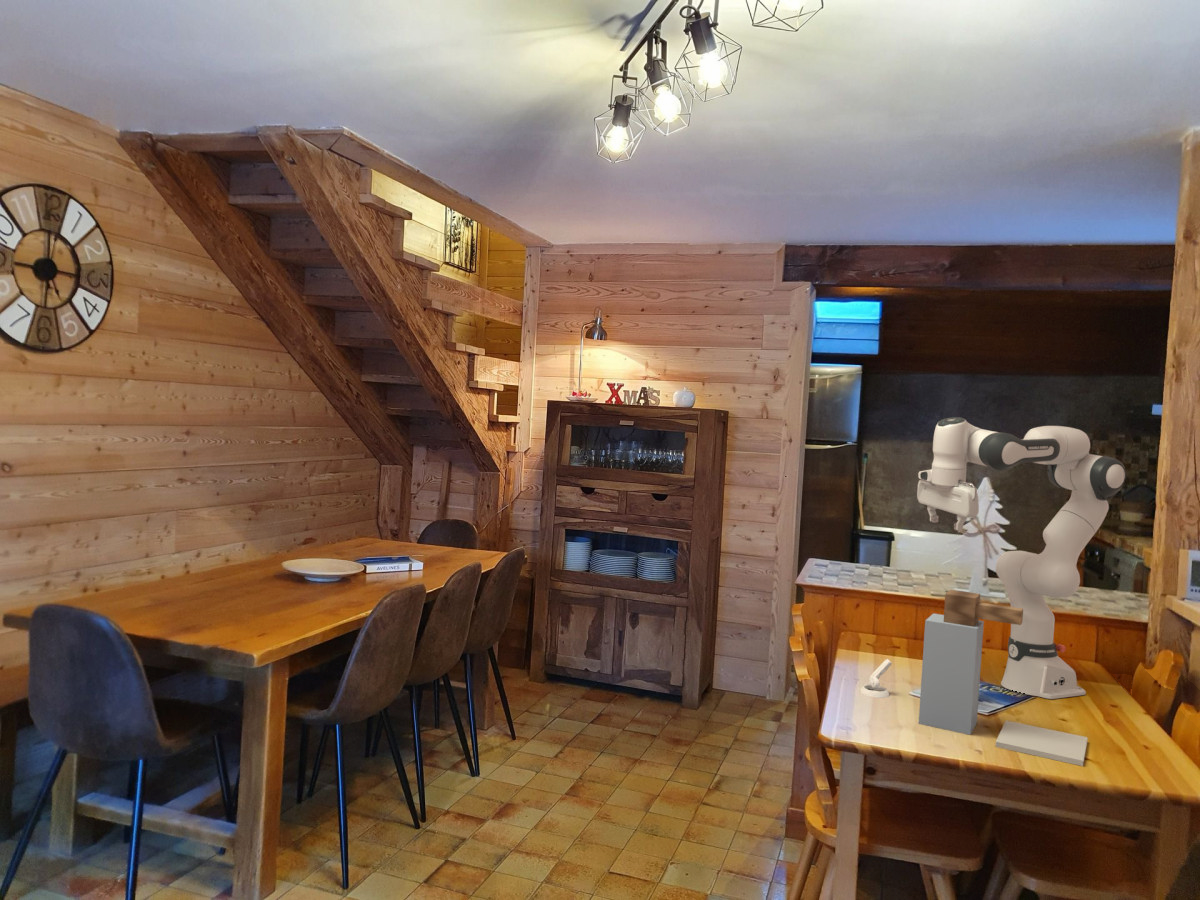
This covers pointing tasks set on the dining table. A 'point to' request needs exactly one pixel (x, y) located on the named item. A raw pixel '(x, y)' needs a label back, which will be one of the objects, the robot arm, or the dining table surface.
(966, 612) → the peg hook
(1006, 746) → the felt pad
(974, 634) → the post
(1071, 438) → the robot arm
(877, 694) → the hook
